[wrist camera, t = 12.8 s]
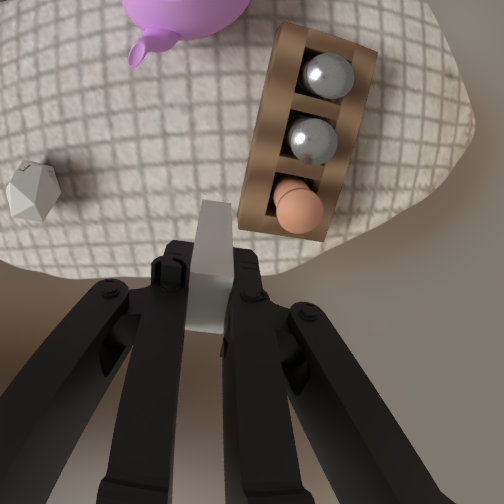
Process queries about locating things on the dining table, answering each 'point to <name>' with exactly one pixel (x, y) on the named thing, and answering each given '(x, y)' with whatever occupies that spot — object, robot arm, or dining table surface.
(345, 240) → the dining table surface
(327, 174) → the wooden compartment tray
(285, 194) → the peach plug
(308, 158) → the grey plug mid
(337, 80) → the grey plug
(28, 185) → the die
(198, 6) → the teapot
